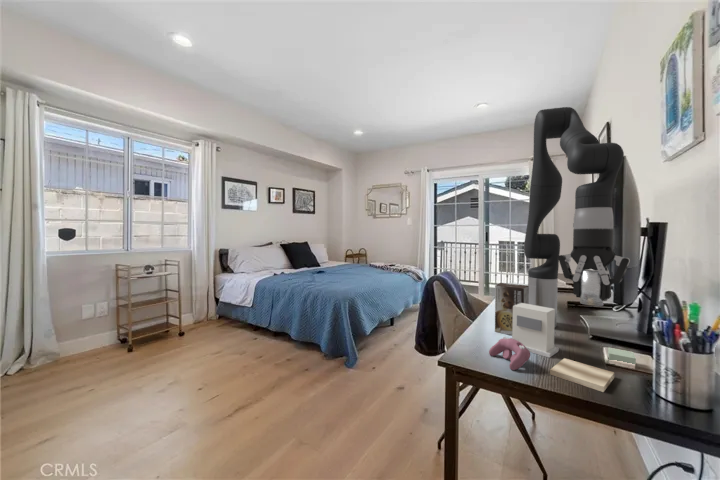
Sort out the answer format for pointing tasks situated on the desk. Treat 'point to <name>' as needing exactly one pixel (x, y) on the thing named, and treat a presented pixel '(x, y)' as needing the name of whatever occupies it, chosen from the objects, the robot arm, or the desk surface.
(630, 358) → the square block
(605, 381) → the birch pad
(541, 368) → the desk surface
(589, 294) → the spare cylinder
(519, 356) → the video game controller
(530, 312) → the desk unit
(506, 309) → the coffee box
